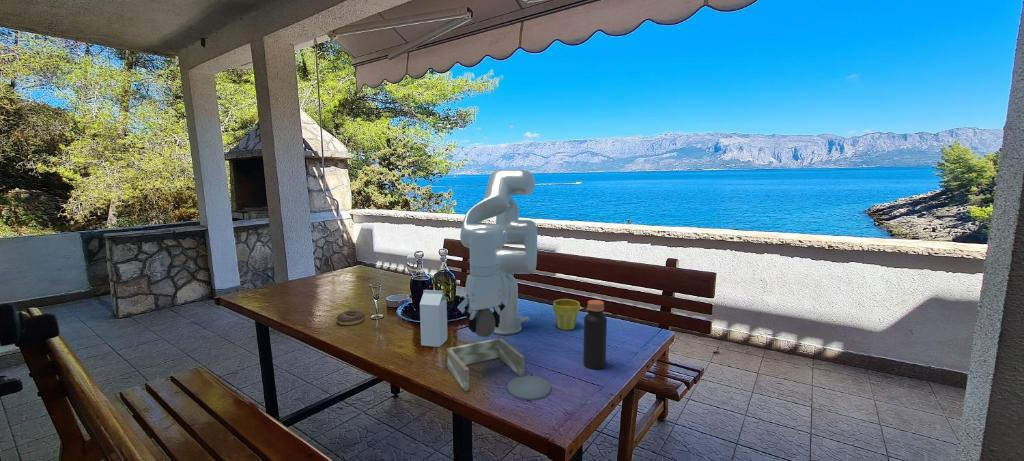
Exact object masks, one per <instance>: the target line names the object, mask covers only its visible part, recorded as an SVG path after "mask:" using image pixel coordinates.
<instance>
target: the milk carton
mask: <svg viewBox="0 0 1024 461" xmlns="http://www.w3.org/2000/svg"><path fill="white" fill-rule="evenodd" d="M447 307H448V304H447V298H446V297H445V294H444V291H443V290H433V289H432V290H431V289H423V293H422V296H421V299H420V302H419V321H420V322H419V323H420V345H421V346H424V347H435V348H440V347H441V348H442V346H443V345H444V343H445V342H446V341H447V340H448V310H447V309H448V308H447Z"/></svg>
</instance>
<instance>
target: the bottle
mask: <svg viewBox="0 0 1024 461" xmlns="http://www.w3.org/2000/svg"><path fill="white" fill-rule="evenodd" d="M586 308H587V312H588V313H587V314H585V316H584V318H583V354H582V355H583V357H582V358H583V365H584V366H585V367H586V368H588V369H592V370H601V369H603V368H605V367H606V363H607V330H608V329H607V328H608V327H607V325H608V321H607V320H608V319H607V317H606V316H605V314H604V311H605V302H604V301H603V300H600V299H591V300H588V301H587V307H586Z"/></svg>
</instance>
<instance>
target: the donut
mask: <svg viewBox="0 0 1024 461" xmlns="http://www.w3.org/2000/svg"><path fill="white" fill-rule="evenodd" d="M365 317H366V316H365V313H364V312H363V311H361V310H359V309H349V310H345V311H342V312H340V313H338V314H337V317H336V321H337V323H338V324H339V325H342V326H353V325H358V324H360V323H362V322H363V321H364V319H365Z"/></svg>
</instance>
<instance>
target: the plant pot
mask: <svg viewBox="0 0 1024 461" xmlns="http://www.w3.org/2000/svg"><path fill="white" fill-rule="evenodd" d="M552 305H553V306H552V308H553V309H552V310H553V312H554V315H555V321H556V326H557V328H559V329H560V330H565V331H569V330H573V329H575V326H576V322H577V318H578V314H579V313H580V310H581V303H580V302H579V301H577V300H575V299H570V298H569V299H568V298H561V299H556V300H553V304H552Z"/></svg>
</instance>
